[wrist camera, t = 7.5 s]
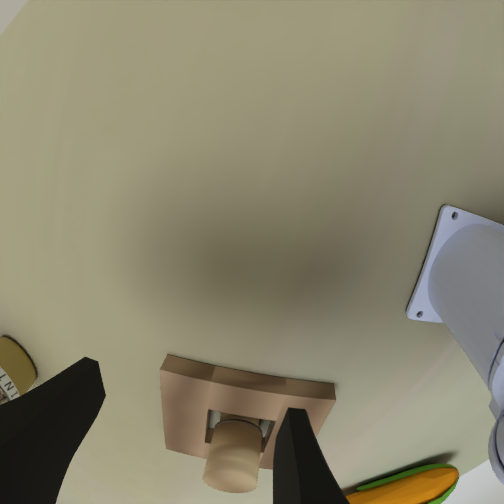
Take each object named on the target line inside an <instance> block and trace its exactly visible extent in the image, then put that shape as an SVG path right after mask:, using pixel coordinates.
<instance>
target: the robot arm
mask: <svg viewBox="0 0 504 504" xmlns="http://www.w3.org/2000/svg"><path fill="white" fill-rule="evenodd" d="M453 212H455V216H454V217H453V218H452V213H453ZM419 311H421V312H420V314H418V315H417V313H418V312H419ZM406 315H407V317H408V318H409V319H412V320H420V321H428V322H437V323H444V324H445V325H446V327H447V328H448V329H449V331H450V332H451V333H452V335H453V336H454V338H455V339H456V340H457V342H458V343H459V345H460V346H461V348H462V349H463V351H464V352H465V353H466V355H467V356H468V358H469V359H470V361H471V362H472V364H473V365H474V367H475V368H476V370H477V372H478V373H479V375H480V376H481V378H482V379H483V381H484V383H485V384H486V386H487V387H488V389H489V390H490V392H491V395H492V399H491V402H490V404H489V408H490V410H491V412H492V413H493V415H494V417H495V419H496V422H495V424H494V426H493V428H492V430H491V434H490V437H489V444H488V454H489V459H490V463H491V466H492V469H493V471H494V473H495V474H496V476H497V478H498V479H499V480H500V481H501V482H502V483H503V484H504V225H502V224H500V223H497V222H494V221H492V220H489V219H487V218H484V217H481V216H478V215H476V214H473V213H470V212H467V211H464V210H462V209H459V208H456V207H453V206H450V205H444V206H443V207H442V208H441V210H440V214H439V218H438V221H437V225H436V228H435V232H434V235H433V238H432V241H431V245H430V248H429V251H428V254H427V257H426V260H425V263H424V266H423V268H422V271H421V274H420V277H419V280H418V282H417V285H416V288H415V290H414V293H413V295H412V298H411V300H410V303H409V305H408V308H407V310H406ZM105 397H106V394H105V390H104V386H103V382H102V377H101V373H100V368H99V363H98V361H95V360H93V359H90V358H87V357H84V358H82V359H81V360H79V361H78V362H76V363H75V364H73V365H71V366H70V367H68V368H67V369H65V370H64V371H62V372H61V373H59V374H58V375H56V376H54V377H53V378H51V379H49V380H48V381H46V382H45V383H43V384H41V385H40V386H38V387H36V388H34V389H32V390H31V391H29V392H27V393H25V394H23V395H21V396H19V397H17V398H15V399H13V400H10V401H8V402H5V403H3V404H0V504H56V500H57V497H58V493H59V490H60V488H61V485H62V482H63V479H64V476H65V474H66V471H67V469H68V466H69V464H70V462H71V460H72V458H73V456H74V454H75V452H76V451H77V449H78V447H79V445H80V444H81V442H82V440H83V439H84V437H85V435H86V434H87V432H88V431H89V429H90V427H91V425H92V424H93V422H94V420H95V419H96V417H97V415H98V413H99V411H100V408H101V406H102V404H103V401H104V399H105ZM273 504H350V502H349V501H348V499H347V498H346V496H345V495H344V493H343V492H342V490H341V489H340V487H339V485H338V483H337V482H336V480H335V478H334V476H333V474H332V472H331V471H330V469H329V467H328V465H327V463H326V460H325V458H324V456H323V454H322V451H321V449H320V447H319V444H318V442H317V439H316V437H315V434H314V432H313V429H312V426H311V423H310V420H309V417H308V413H307V411H306V410H305V409H300V408H291V407H288V409H287V411H286V414H285V416H284V419H283V421H282V424H281V426H280V429H279V431H278V433H277V436H276V440H275V448H274V457H273Z"/></svg>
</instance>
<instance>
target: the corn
mask: <svg viewBox="0 0 504 504" xmlns="http://www.w3.org/2000/svg"><path fill="white" fill-rule="evenodd" d="M458 476H459V472H458V470H457V468H456V467H454V466H452V465H450V464H430V465H425V466H420V467H416V468H413V469H410V470H407V471H405V472H402V473H399V474H396V475H393V476H390V477H387V478H384V479H381V480H378V481H374V482H371V483H369V484H366V485H363V486H360V487H358V488H356V489H357V490H361V491H358V492H356V493H353V494H350V495H347V496H346V498H347V499H348V501H349V502H350V504H441V503H442V502H443V501H444V500H445V499H446V498H447V497H448V496H449V494H450V493H451V492H452V491H453V490H454V489H455V486H456V484H457V482H458V479H459V477H458ZM363 489H364V490H363Z"/></svg>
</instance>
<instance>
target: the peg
mask: <svg viewBox="0 0 504 504" xmlns="http://www.w3.org/2000/svg"><path fill="white" fill-rule="evenodd" d="M259 425H260V419H258V418H252V417H246V416H240V415H235V414H229V413H224V412H222V414H221V419H220V422H218V423H217V424H216V425H215V427H214V433H213V437H212V441H211V445H210V449H209V453H208V457H207V462H206V466H205V470H204V474H203V481H204V482H205V483H206V484H207V485H208V486H210V487H212V488H214V489H217V490H220V491H224V492H231V493H245V492H250V491H252V490H254V489H255V488H256V487H257V479H258V470H259V460H260V450H261V440H262V431H261V429H260V428H259Z"/></svg>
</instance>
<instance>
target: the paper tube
mask: <svg viewBox="0 0 504 504" xmlns="http://www.w3.org/2000/svg"><path fill="white" fill-rule="evenodd" d="M35 379H36V373H35V369H34V367H33V364H32V362H31V361H30V359H29V358H28V356H27V355H26V353H25V352H24V351H23V350H22V349H21V348H20V347H19V346H18V345H17V344H16V343H15V342H14V341H12V340H11V339H9V338H6V337H0V404H3V403H5V402H8V401H10V400H13V399H15V398H17V397H19V396H21V395H23V394H25V393H26V392H27V391H28V389H29V388H30V387H31V386H32V385H33V383H34V382H35Z"/></svg>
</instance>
